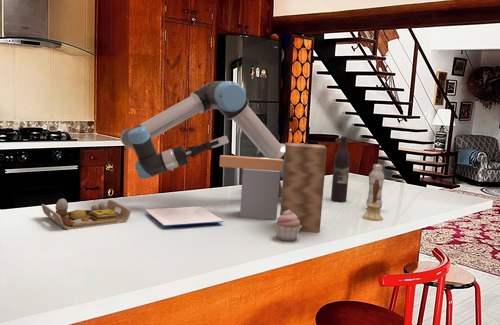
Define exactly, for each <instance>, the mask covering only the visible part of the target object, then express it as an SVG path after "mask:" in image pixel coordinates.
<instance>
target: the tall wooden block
mask: <svg viewBox="0 0 500 325" xmlns="http://www.w3.org/2000/svg"><path fill="white" fill-rule="evenodd" d="M284 144H285V156H284V169H283V178H282V182H281V185H282V196H281V197H280V198H281V199H280V213H279V216H281V215H282V214H283V213H284V212H285V211H287V210H291V212H293V213H294V214H295V215H296V216H297V217H298V219H299V221H300V225H302V227H301V228H300V230H299V231H301V232H303V231H304V232H313V233H314V232H315V233H320V232H321V221H322V211H323V210H322V209H323V199H324V198H323V197H324V188H325V178H326V177H325V175H326V164H327V162H326V161H327V154H328V153H327V152H328V151H327V150H328V148H327V147H326V146H325V145H324V144H315V143H314V144H311V143H297V142H285V143H284Z"/></svg>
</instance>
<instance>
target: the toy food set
mask: <svg viewBox="0 0 500 325" xmlns="http://www.w3.org/2000/svg"><path fill="white" fill-rule="evenodd" d="M41 208H42V211H43V213H44V214H45V216H47V217H48V218H50V219H51V220H52V221H53V222H55V223H56V224H58V225H59V226H60V227H61V228H63V229H64V230H67V231H68V230H77V229H83V228H93V227H100V226H108V225H116V224H124V223H126V222H127V221H128V219H129V217H130V216H131V212H132V211H131V208H129V207H127V206H124V205H122V204H121V203H118V202H117V201H114V200H112V199H109V200H108V202H107V205H106V204H105V203H104V202H102V201H101V202H99V203H98V204H96V203H95V204H92V206H91V209H86V210H85V209H84V210H83V209H75V210H72V211H71V210H70V211H68V208H69V204H68V201H67V200H66V199H65V198H60V199H58V200H57V202H56V204H55V208H54V209H55V210H53V209H51V208H50V207H49V206H47V205H46V204H44V203H42V204H41ZM117 208H118V209H121V210H120V212H118V211H116V209H117Z"/></svg>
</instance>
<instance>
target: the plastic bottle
mask: <svg viewBox="0 0 500 325" xmlns="http://www.w3.org/2000/svg"><path fill="white" fill-rule="evenodd" d="M382 170H383V164H380V163H374V164H373V166H372V170H371V172H369V174H368V195H367V199H366V202H365V203H366V204H365V205H366V206H365V207H366V208H368V205H369V204H371V203H372V200H373V184H374V182H375V180H376V179H377V180H379V186H380V187H379V192H378V194H377V201H376V204H377V205H379V209H380V210H381V209H382V205H383V200H382V192H383V191H382V190H383V185H384V182H385V174H384V172H383V171H382Z"/></svg>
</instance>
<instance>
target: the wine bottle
mask: <svg viewBox="0 0 500 325" xmlns="http://www.w3.org/2000/svg"><path fill="white" fill-rule="evenodd" d="M347 141H348V136H345V135H342V136H341V137H340V146H339V147H338V150H337V151H336V153H335V155H334V160H333V170H332V171H333V172H332V181H331V194H330V200H331V201H333V202H336V203H345V202H347V198H348V196H347V195H348V186H349V185H348V184H349V175H350V166H351V165H350V164H351V162H350V161H351V156H350V152H349V150H348V147H347Z"/></svg>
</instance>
